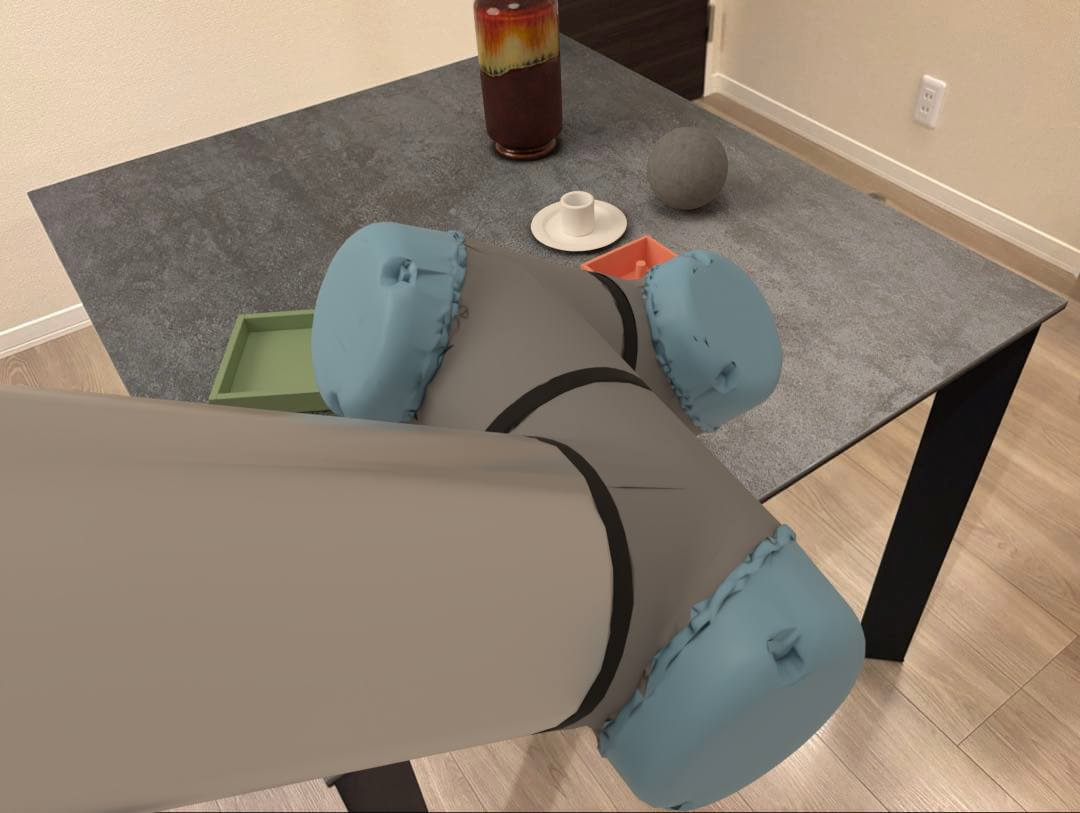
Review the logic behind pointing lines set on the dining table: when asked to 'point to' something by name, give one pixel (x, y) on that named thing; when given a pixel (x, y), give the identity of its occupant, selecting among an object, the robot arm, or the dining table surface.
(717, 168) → the decorative ball
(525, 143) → the vase
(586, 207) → the candle holder
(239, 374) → the green shallow square tray
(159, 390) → the dining table surface
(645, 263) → the pottery
